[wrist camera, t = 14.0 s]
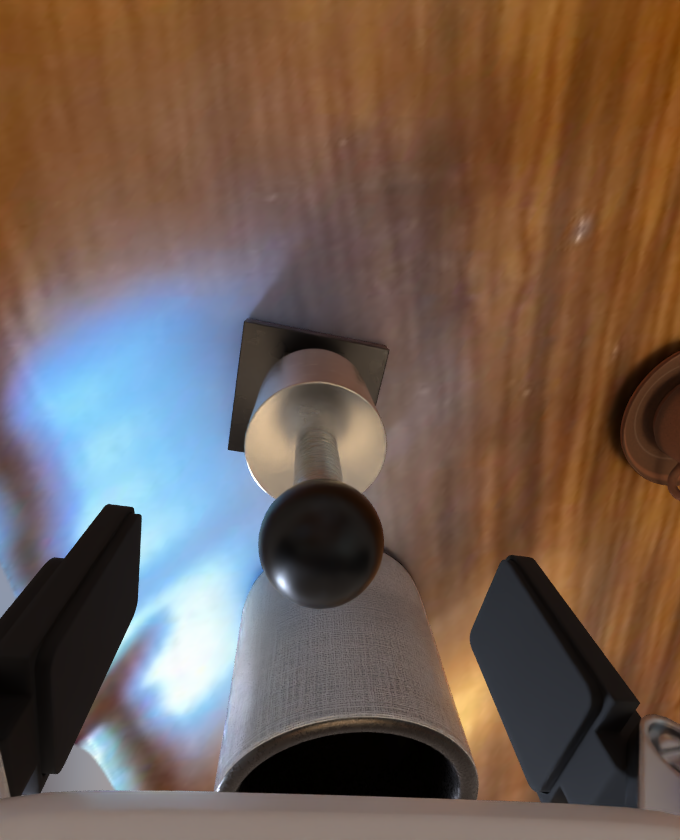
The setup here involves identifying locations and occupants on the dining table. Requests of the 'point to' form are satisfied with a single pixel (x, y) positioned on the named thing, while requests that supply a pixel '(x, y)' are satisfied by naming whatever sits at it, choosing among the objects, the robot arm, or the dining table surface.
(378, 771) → the planter
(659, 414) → the cup and saucer
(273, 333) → the dark grey lever base
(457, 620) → the dining table surface
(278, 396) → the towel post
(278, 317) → the dining table surface
